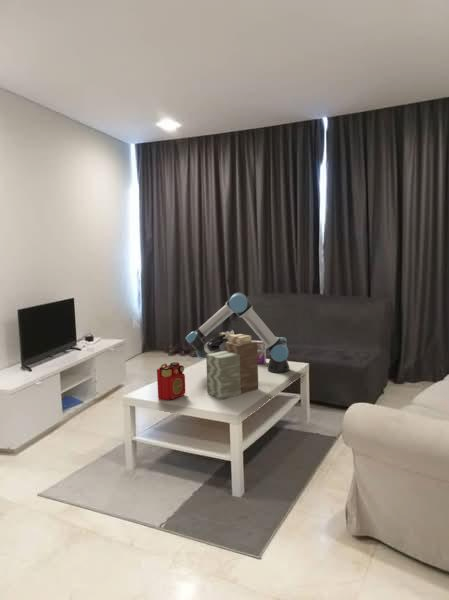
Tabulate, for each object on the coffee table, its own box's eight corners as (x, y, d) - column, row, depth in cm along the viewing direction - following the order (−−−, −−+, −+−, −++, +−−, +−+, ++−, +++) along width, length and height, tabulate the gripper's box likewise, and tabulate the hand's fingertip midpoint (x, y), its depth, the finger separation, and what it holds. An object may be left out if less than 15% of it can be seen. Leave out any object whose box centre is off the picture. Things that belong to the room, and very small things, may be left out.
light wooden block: (216, 338, 288) (216, 332, 288) (226, 337, 293) (226, 331, 293) (241, 344, 269) (240, 337, 269) (251, 342, 274) (251, 335, 274)
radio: (170, 401, 260) (169, 367, 257) (157, 399, 265) (155, 365, 263) (187, 393, 273) (186, 361, 271) (174, 391, 278) (172, 359, 276)
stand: (207, 393, 272) (205, 346, 268) (243, 384, 289) (242, 339, 285) (222, 399, 261) (220, 349, 257) (258, 389, 278) (257, 342, 274)
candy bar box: (250, 363, 340) (249, 341, 338) (251, 361, 344) (251, 340, 343) (264, 364, 336) (264, 342, 334) (266, 362, 341) (265, 340, 339)
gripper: (223, 349, 303) (242, 336, 286) (203, 353, 294) (222, 340, 276) (219, 339, 306) (238, 325, 288) (200, 342, 296) (218, 328, 278)
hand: (230, 332), depth 282 cm, fingers closed on light wooden block, 3 cm apart
